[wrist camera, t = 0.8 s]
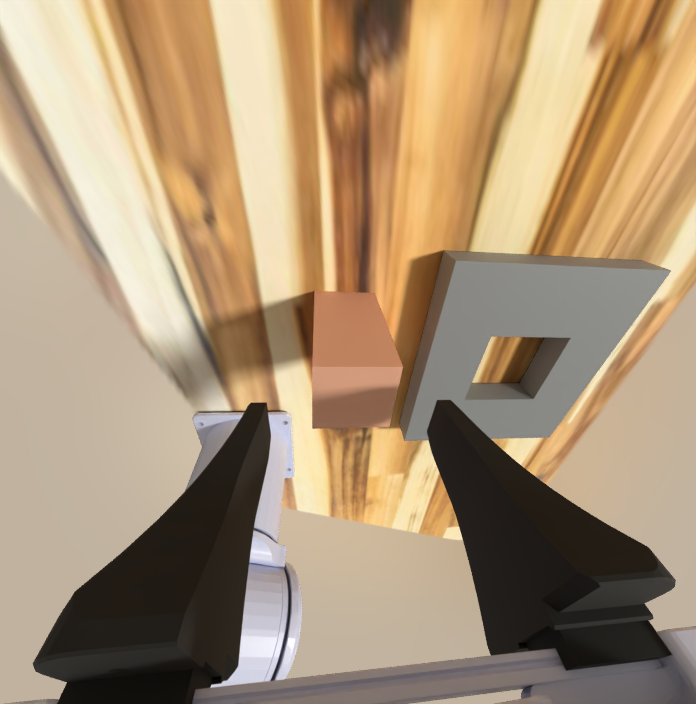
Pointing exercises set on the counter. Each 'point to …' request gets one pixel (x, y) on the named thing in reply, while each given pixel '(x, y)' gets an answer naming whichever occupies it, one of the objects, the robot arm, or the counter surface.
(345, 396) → the terracotta peg
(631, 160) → the counter surface
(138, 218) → the counter surface
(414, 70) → the counter surface
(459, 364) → the socket block
